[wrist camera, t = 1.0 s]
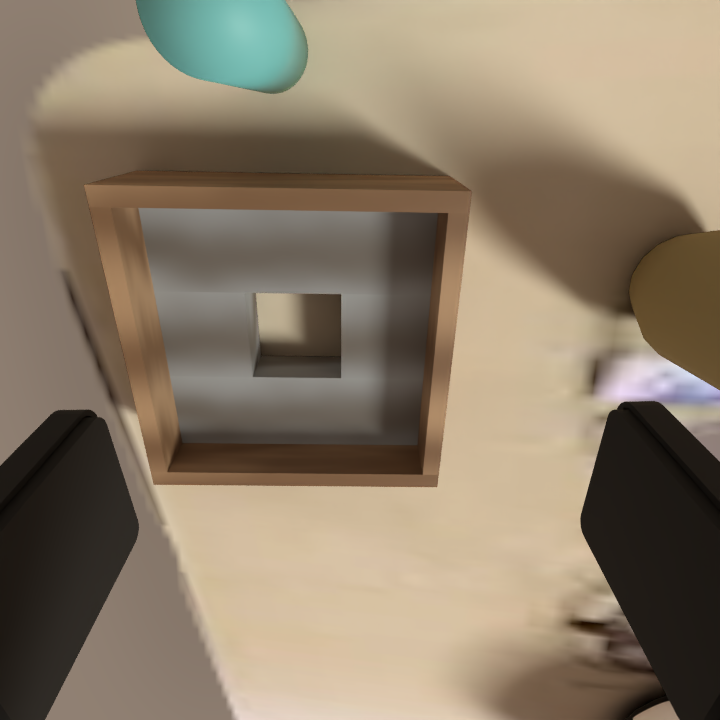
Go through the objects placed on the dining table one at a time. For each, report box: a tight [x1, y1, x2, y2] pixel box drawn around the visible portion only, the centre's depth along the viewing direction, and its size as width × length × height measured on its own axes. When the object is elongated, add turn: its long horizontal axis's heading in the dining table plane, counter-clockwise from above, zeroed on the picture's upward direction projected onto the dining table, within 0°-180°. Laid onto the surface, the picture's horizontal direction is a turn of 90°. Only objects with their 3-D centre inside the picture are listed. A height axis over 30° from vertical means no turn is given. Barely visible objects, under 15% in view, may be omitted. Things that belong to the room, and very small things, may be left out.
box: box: [84, 171, 472, 487], centre depth 29 cm, size 18×18×6 cm
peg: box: [136, 0, 308, 94], centre depth 20 cm, size 4×4×12 cm
